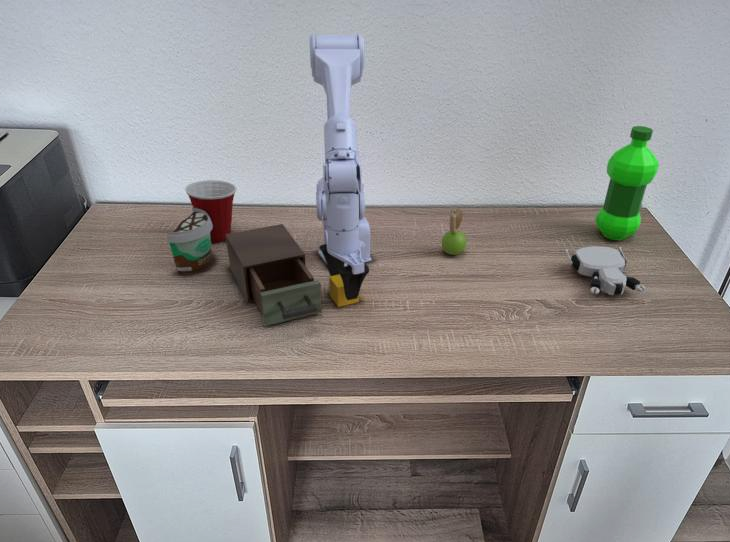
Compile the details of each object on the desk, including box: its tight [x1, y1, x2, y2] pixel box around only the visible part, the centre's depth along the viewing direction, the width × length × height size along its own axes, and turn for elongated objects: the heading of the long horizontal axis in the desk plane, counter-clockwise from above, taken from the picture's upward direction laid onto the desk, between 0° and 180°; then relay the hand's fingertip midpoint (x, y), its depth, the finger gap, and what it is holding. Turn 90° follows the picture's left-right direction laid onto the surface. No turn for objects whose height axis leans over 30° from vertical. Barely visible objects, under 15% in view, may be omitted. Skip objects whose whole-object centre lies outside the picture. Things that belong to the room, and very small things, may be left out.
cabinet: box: [225, 223, 307, 304], centre depth 124 cm, size 14×12×8 cm
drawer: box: [247, 258, 322, 327], centre depth 115 cm, size 18×11×6 cm, turn 25°
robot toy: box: [565, 245, 646, 296], centre depth 127 cm, size 12×4×15 cm
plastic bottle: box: [595, 125, 660, 241], centre depth 138 cm, size 10×10×25 cm
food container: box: [166, 207, 213, 275], centre depth 127 cm, size 12×6×10 cm, turn 168°
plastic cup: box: [184, 179, 237, 244], centre depth 137 cm, size 11×11×12 cm
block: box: [328, 274, 360, 308], centre depth 119 cm, size 4×4×4 cm
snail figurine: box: [440, 208, 468, 256], centre depth 133 cm, size 5×6×12 cm
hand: (344, 288), depth 119 cm, fingers open, 7 cm apart
